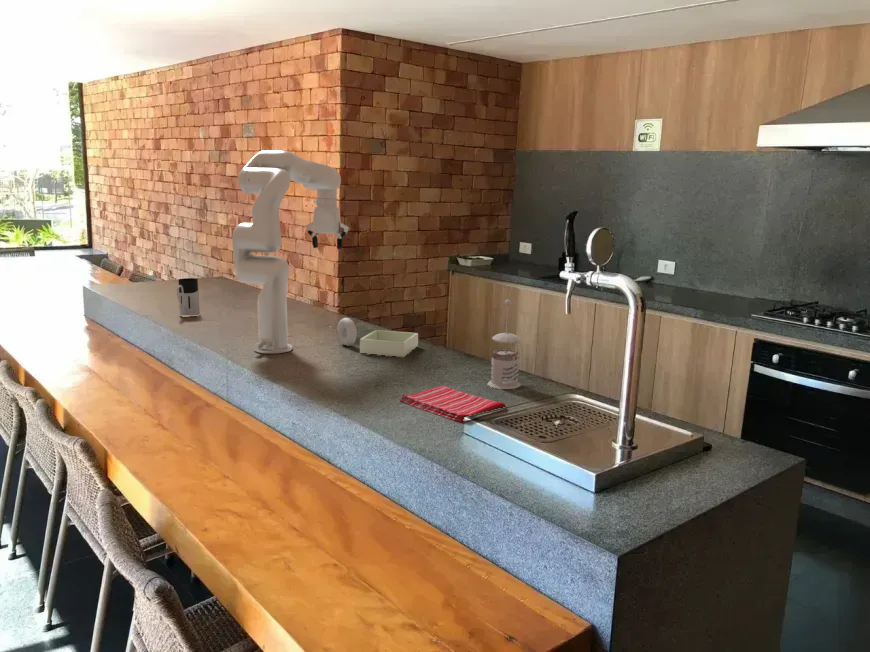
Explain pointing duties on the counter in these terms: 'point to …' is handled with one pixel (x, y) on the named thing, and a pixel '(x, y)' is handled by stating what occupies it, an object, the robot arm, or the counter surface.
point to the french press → (505, 361)
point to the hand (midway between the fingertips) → (327, 248)
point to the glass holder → (188, 296)
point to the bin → (389, 343)
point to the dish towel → (450, 403)
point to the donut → (347, 331)
